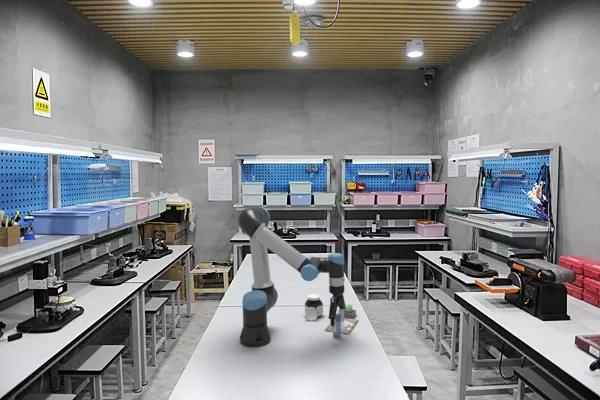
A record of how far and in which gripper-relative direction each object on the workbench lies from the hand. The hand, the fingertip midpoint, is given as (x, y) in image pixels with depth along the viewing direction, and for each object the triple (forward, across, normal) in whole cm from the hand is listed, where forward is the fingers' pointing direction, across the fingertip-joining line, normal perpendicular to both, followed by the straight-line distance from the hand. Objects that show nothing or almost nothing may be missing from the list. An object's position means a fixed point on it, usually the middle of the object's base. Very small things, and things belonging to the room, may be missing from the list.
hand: (337, 326), depth 202 cm
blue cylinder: (+5, 0, 0) cm, 5 cm away
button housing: (+5, +29, +2) cm, 29 cm away
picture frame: (+5, +14, +2) cm, 15 cm away
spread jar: (+5, +20, +20) cm, 29 cm away
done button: (+3, +29, +2) cm, 29 cm away
